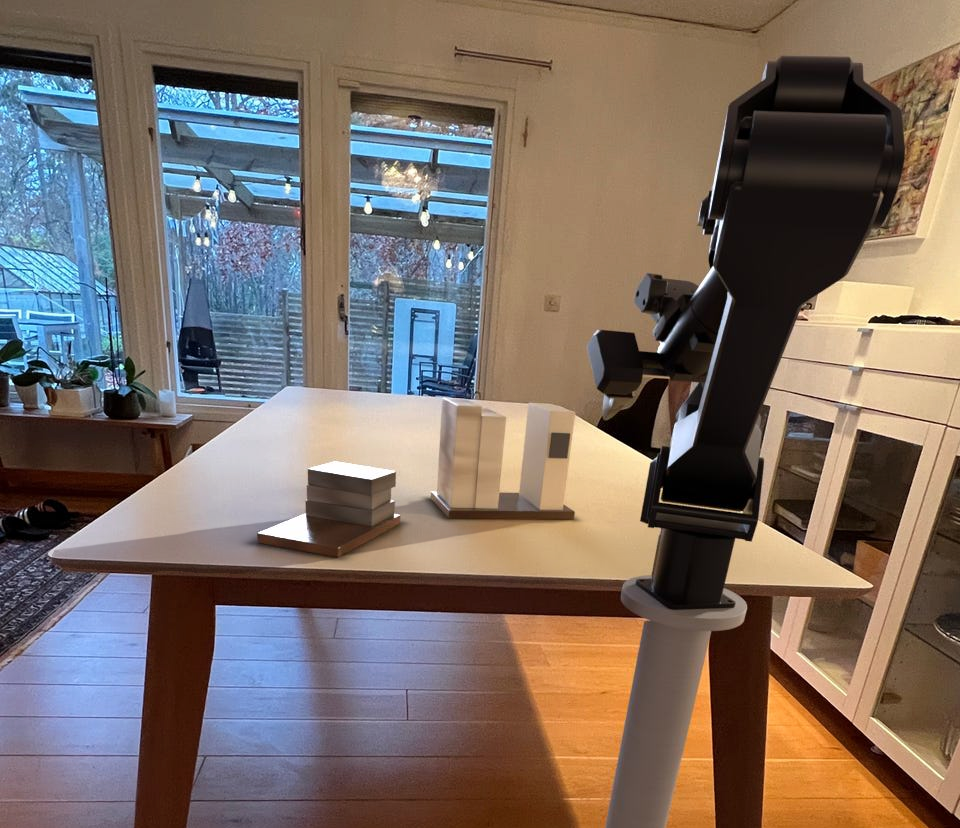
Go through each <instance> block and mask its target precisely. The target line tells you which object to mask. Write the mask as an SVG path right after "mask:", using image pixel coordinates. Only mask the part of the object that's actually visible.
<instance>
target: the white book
mask: <svg viewBox="0 0 960 828" xmlns="http://www.w3.org/2000/svg"><path fill="white" fill-rule="evenodd" d="M575 419H576V412H575V411H573V410H570V409H568V408H565V407H563V406H559V405H556V404H553V403H547V402H546V403H545V402H544V403H542V402H528V404H527V415H526V423H525V433H524V443H523V453H522V462H521V470H520V471H521V472H520V480H519V489H518V493H519V495H520V496H521V497H523V498H524V499H525V500H527V501H528V502H530V503H531V504H532V505H534V506H535V507H536V508H538V509H539V510H563V504H564V505H565V497H566V489H567V481H568V473H569V465H570V458H571V451H572V442H573V435H574V426H575Z"/></svg>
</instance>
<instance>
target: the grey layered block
mask: <svg viewBox="0 0 960 828" xmlns="http://www.w3.org/2000/svg"><path fill="white" fill-rule="evenodd" d="M396 483H397V471H396V470H389V469H383V468H377V467H371V466H366V465H358V464H352V463H347V462H341V461H332V462H328V463H325V464H321V465H317V466H313V467H310V468H307V485H306V500H305V502H304V503H305V513H304V514H301V515H299V516H296V517H294V518H291V519H289V520H286V521H284V522H281V523H278V524H276V525H274V526H271V527H269V528H267V529H264V530H261V531H259V532H257V533H256V537H257V538H256V541H257V543H258V544H263V545H268V546H275V547H279V548H285V549H290V550H295V551H301V552H307V553H312V554H317V555H323V556H328V557H333V558H339V557H341V556H343V555H345V554H347V553H349V552H350V551H352V550H354V549H356V548H357V547H359V546H361V545H363V544H365V543H367V542H368V541H370V540H373V539H374V538H375V537H377V536H379V535H381V534H383V533H385V532H387V531H389V530H391V529H392V528H394V527H396V526H398V525H399V524H401V514H397V513H395V509H396V507H395V506H396V500H395V499H394V500H393V499H392V489H393V488H396Z"/></svg>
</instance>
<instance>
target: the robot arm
mask: <svg viewBox="0 0 960 828" xmlns="http://www.w3.org/2000/svg"><path fill="white" fill-rule="evenodd" d="M905 157H906V143H905V131H904V121H903V112H902V109H901V108H900V106H898V105H897V104H896V103H894V102H893V101H891V100H890V99H889V98H887V97H886V96H884V95H883V94H882V93H881V92H879V91H878V90H876V89H875V88H874V87H872V86H871V85H870V84H869V83H867V82H866V81H865V80H864V65H863V62H853V60H852V58H851V57H850V56H837V55H836V56H833V55H830V56H829V55H827V56H826V55H780V56H779V57H778V58H777V59H776V60H766V63H765V66H764V70H763V73H762V77H761V80H760V82H758V83H757V84H755V85H754V86H753V87H751V88H750V89H748V90H747V91H745V92H744V93H743V94H741V95H740V96H738V97H737V98H735V99H734V100H733V101H731V102H730V103H729V105H728V106H727V110H726V116H725V122H724V126H723V132H722V136H721V142H720V147H719V152H718V157H717V163H716V168H715V172H714V178H713V184H712V186H711V189H710V190H709V191H708V194H707V196H706V197H704V198H703V200H701V205H700V208H699V213H698V219H697V225H696V226H697V227H702V228H701V229H702V230H703V231H702V235H704V236H711V238H710V244H709V249H708V250H709V251H708V265H709V271H708V272H707V274H706V276H705V277H704V279H703V280H702V281H701V282H700V284H699V285H698V284H696V283H695V282H693V281H689V280H682V279H673V278H665V277H664V276H663V275H662V274H658V273H649V272H646V273H645V275H644V276H643V278H642V279H641V281H640V282H639V284H638V286H637V289H636V291H635V293H634V299H633V300H634V301H633V302H634V305H635V306H636V307H637V308H638V310H639V311H640V312H641V313H642V314H647V315H650V317H651V318H652V319H653V320H654V322H655V323H656V325H655V327H654V328H653V330H652V334H653V338H654V341H657V342H659V344H660V345H659V346H658V349H657V352H656V351H644V350H643V351H642V350H640V349H639V345H638V341H637V337H636V334H635V333H636V332H631V331H621V330H619V331H618V330H607V329H597V330H596V331H595V332H594V333H593V334H592V336H591V339H590V340H589V342H588V344H587V345H586V350H587V354H588V360H589V363H590V367H591V372H592V375H593V380H594V385H595V388H596V390H598V391H599V392H600V393H601V394H604V395H603V403H602V410H601V414H602V419H603V421H608V420H610V419H612V418H613V417H615V415H616V414H618V412H620V411H621V410H623V408H624V407H626V405H627V404H628V403H629V402H631V401H632V400H633V399H634V397H635V396H634V392H635V391H638V389H639V387H640V386H641V384H642V382H643V378H650V379H651V378H654V379H655V378H656V379H667V380H670V381H671V382H672V381H673V382H683V383H684V382H687V383H697V384H696V386H695V387H694V389H693V390H692V391H691V392H690V394H689V395H688V397H687V398H686V399H685V400H684V402H683V403H682V405H681V406H680V408H679V410H678V411H677V413H676V415H675V423H674V426H673V430H672V435H671V438H670V442H669V446H667V445H666V446H665V445H661V447H660V452H658V453H657V456H656V457H655V458H654V459H652V460H651V461H650V462H649V467H648V473H647V479H646V485H645V490H644V495H643V497H644V498H643V502H642V507H641V512H640V513H641V514H640V520H639V522H641V523H644V524H646V525H647V528H649V529H654V528H657V529H660V532H659V534H658V537H657V538H658V539H657V544H656V550H655V555H654V559H653V565H652V571H651V575H652V579H636V585H637V586H638V587H640V588H641V589H642V590H644V591H645V592H646V593H648V594H649V595H650V596H652V597H653V598H654V599H656V600H657V601H658V602H660V603H661V604H663V605H664V606H665V607H667V608H668V609H671V610H688V609H716V608H734V607H735V604H736V602H735V601H734V600H732V599H730V598H729V597H727V596H726V595H724V594H723V589H724V588H725V584H726V581H727V576H728V573H729V568H730V565H731V564H730V563H731V559H732V556H733V550H734V546H735V543H736V539H737V540H744V542H751V543H752V542H753V539H754V536H755V533H756V529H757V526H758V523H759V518H760V517H759V516H760V507H761V497H762V489H763V488H762V486H763V479H764V468H765V458H764V457H760V451H761V443H762V434H763V433H762V431H761V429H760V427H761V422H762V417H761V411H762V409H763V407H764V404H765V401H766V398H767V396H768V393H769V391H770V388H771V386H772V384H773V381H774V378H775V375H776V373H777V370H778V368H779V366H780V362H781V361H782V358H783V355H784V353H785V350H786V347H787V345H788V342H789V340H790V337H791V335H792V332H793V329H794V327H795V324H796V323H797V319H798V317H799V315H800V312H801V309H802V307H803V305H804V304H805V303H807V302H808V301H810V300H811V299H813V298H815V297H816V296H818V295H819V294H821V293H823V292H824V291H826V290H827V289H829V288H830V287H832V286H833V285H835V284H837V283H839V281H841V280H843V279H844V278H845V277H846V276H847V275H848V274H849V272H850V271H851V268H852V267H853V265H854V263H855V261H856V260H857V258H858V255H859V253H860V251H861V249H862V248H863V245H864V243H865V242H866V240H867V238H868V236H869V234H870V232H871V230H877V229H881V227H882V226H883V224H884V223H885V222H886V219H887V217H888V215H889V213H890V211H891V209H892V206H893V203H894V201H895V198H896V195H897V192H898V189H899V185H900V182H901V178H902V175H903V171H904V163H905V160H906V159H905ZM660 501H661V502H660Z"/></svg>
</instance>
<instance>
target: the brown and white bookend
mask: <svg viewBox="0 0 960 828" xmlns="http://www.w3.org/2000/svg"><path fill="white" fill-rule="evenodd" d="M440 416H441V417H440V430H439V431H440V432H439V434H440V435H439V447H438V464H437V465H438V466H437V469H438V470H437V482H436V483H437V484H436V490H432V491H431V490H430V500H431V501H432V502H433V503H434V504H435V505H436V506H437V507H438V508H439V509H440V510H441V512H442V513H443V514H444V515H445V516H446V517H447V518H448V519H475V520H477V519H480V520H481V519H485V520H491V519H493V520H498V519H500V520H575V515H576V511H575V510H573V509H571V508H570V507H569V506H567V505H565V503H564V504H563V510H539V509H538V508H536V507H535V506H534V505H532V504H531V503H530V502H528V501H527V500H525V499H524V498H523V497H521V496H520V495H519V492H502V491H500V490H501V479H502V467H503V458H504V457H503V456H504V447H505V435H506V425H507V416H505V415H503V414H501V413H498V412H496V411H494V410H492V409H490V408H488V407H483V406H481V405H480V404H477V403H475V402H473V401H471V400H468V399H467V398H458V397H442V398H441V414H440Z"/></svg>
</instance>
